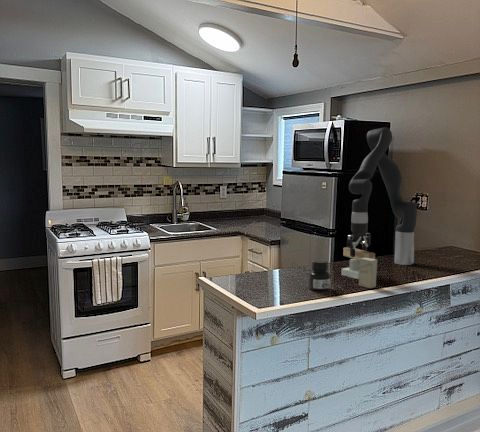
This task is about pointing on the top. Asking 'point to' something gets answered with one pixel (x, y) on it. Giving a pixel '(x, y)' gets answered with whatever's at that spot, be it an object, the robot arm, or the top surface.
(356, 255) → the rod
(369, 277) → the skincare box
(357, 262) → the fulcrum
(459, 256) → the top surface
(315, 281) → the ink bottle
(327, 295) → the top surface
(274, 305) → the top surface
